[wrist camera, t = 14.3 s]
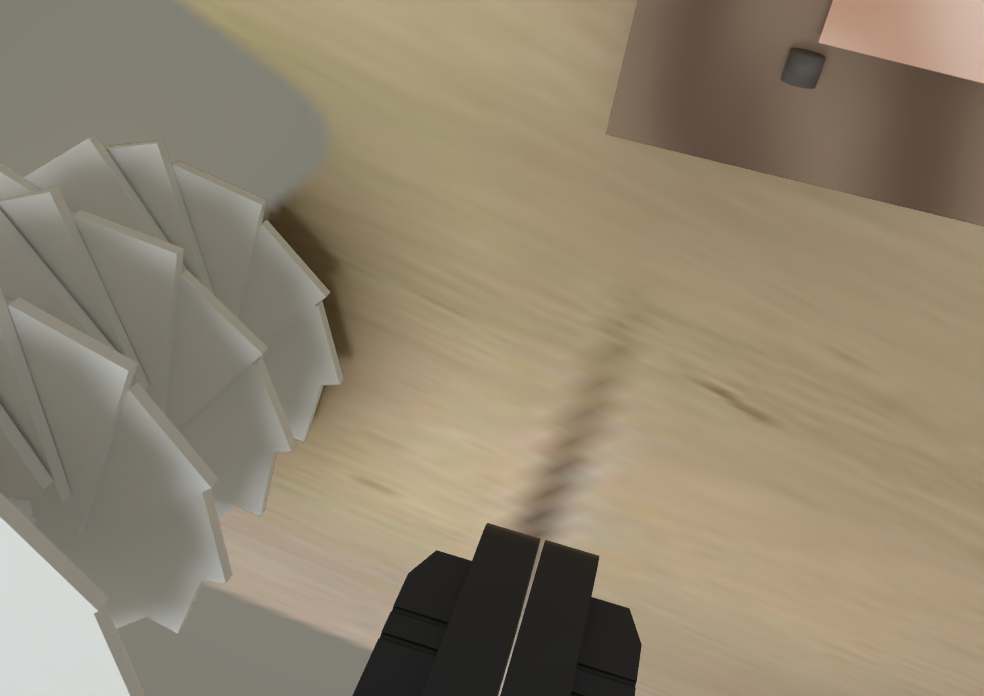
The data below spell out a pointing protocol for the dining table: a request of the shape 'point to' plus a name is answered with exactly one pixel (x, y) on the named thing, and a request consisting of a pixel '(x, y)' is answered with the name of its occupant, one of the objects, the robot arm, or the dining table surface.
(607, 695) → the robot arm
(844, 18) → the flip tile
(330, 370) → the spiral staircase
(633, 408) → the dining table surface
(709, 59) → the board
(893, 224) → the dining table surface
